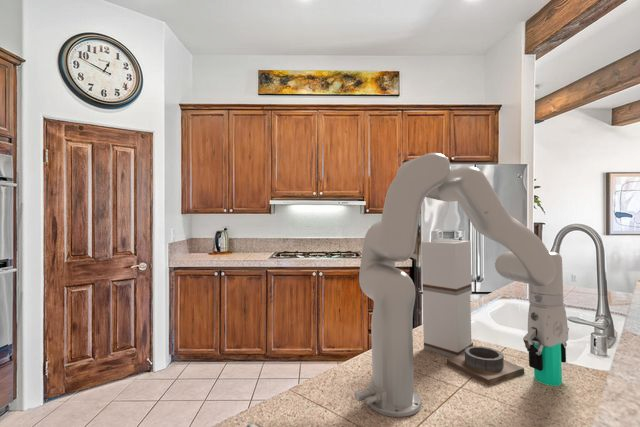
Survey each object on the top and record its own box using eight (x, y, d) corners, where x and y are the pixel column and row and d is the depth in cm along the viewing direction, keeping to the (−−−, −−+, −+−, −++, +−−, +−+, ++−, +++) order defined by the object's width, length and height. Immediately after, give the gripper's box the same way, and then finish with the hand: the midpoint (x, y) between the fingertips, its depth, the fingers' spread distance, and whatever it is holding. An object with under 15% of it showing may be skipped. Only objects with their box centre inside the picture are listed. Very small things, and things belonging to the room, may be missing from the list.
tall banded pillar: (473, 349, 109) (470, 240, 109) (458, 359, 102) (455, 243, 102) (440, 340, 117) (437, 239, 117) (423, 348, 110) (421, 241, 110)
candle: (566, 386, 84) (565, 338, 84) (540, 384, 86) (538, 337, 86) (555, 375, 90) (553, 330, 90) (530, 373, 91) (529, 329, 91)
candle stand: (488, 385, 86) (488, 368, 86) (446, 364, 98) (446, 348, 98) (524, 373, 92) (523, 357, 92) (480, 354, 104) (479, 340, 104)
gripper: (539, 306, 81) (541, 378, 81) (580, 297, 88) (583, 363, 88) (510, 300, 88) (512, 365, 88) (551, 292, 95) (552, 352, 95)
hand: (547, 364), depth 88 cm, fingers open, 9 cm apart
